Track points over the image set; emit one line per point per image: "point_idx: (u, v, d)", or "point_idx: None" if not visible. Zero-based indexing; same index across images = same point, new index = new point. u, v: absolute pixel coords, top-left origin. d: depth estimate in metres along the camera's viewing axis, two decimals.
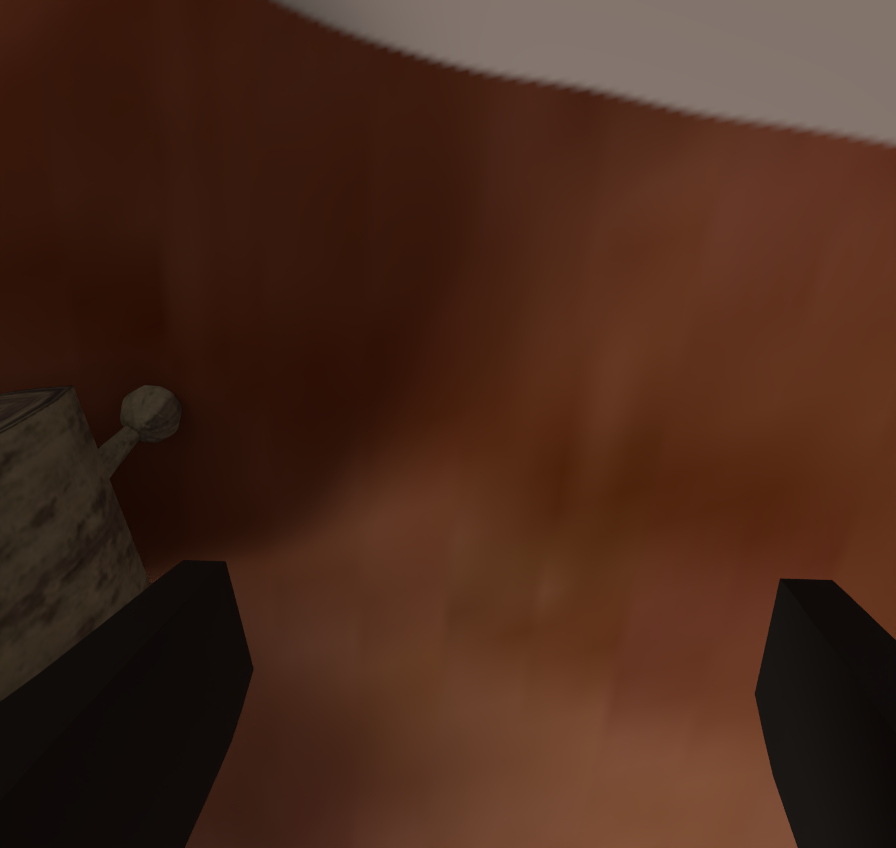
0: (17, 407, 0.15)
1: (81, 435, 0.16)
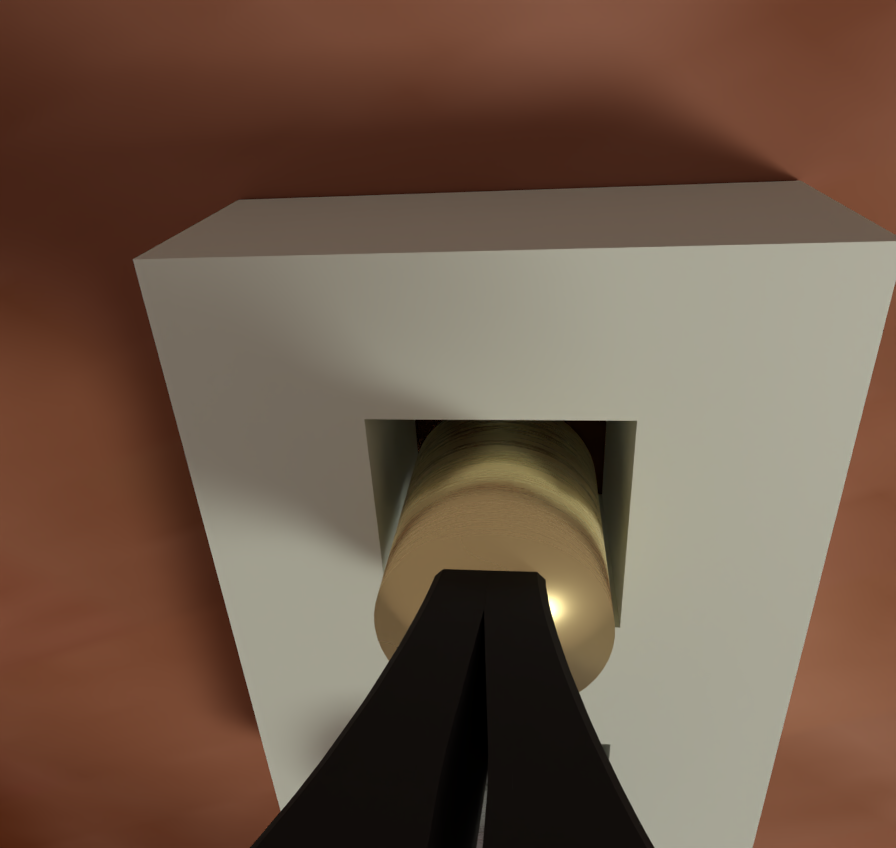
0: None
1: None
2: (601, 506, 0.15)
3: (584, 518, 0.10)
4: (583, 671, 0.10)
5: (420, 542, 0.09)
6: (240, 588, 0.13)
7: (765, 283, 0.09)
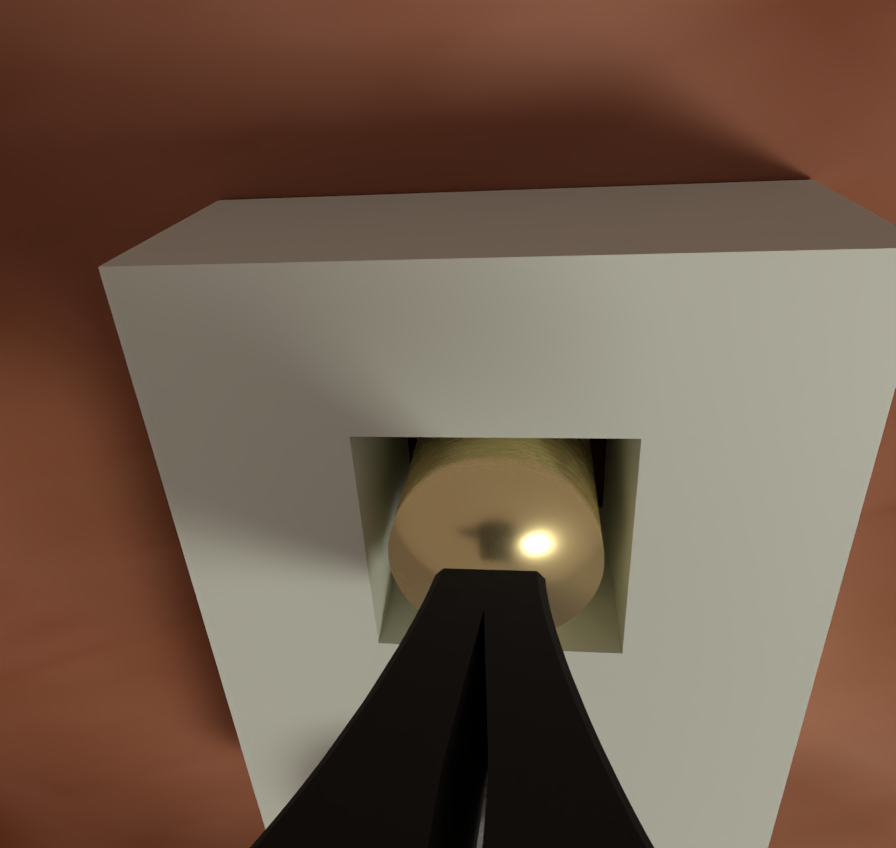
0: None
1: None
2: (602, 520, 0.15)
3: (576, 461, 0.11)
4: (576, 597, 0.11)
5: (430, 480, 0.10)
6: (222, 611, 0.12)
7: (781, 293, 0.08)
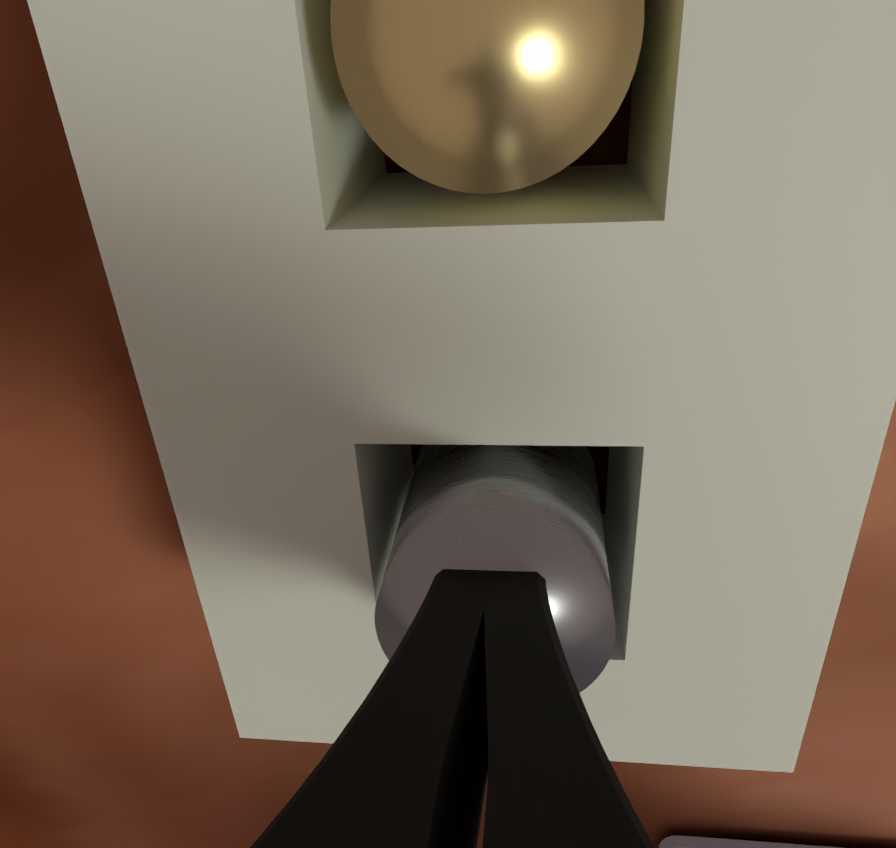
0: None
1: None
2: (627, 168, 0.11)
3: None
4: (602, 98, 0.07)
5: None
6: (110, 189, 0.09)
7: None
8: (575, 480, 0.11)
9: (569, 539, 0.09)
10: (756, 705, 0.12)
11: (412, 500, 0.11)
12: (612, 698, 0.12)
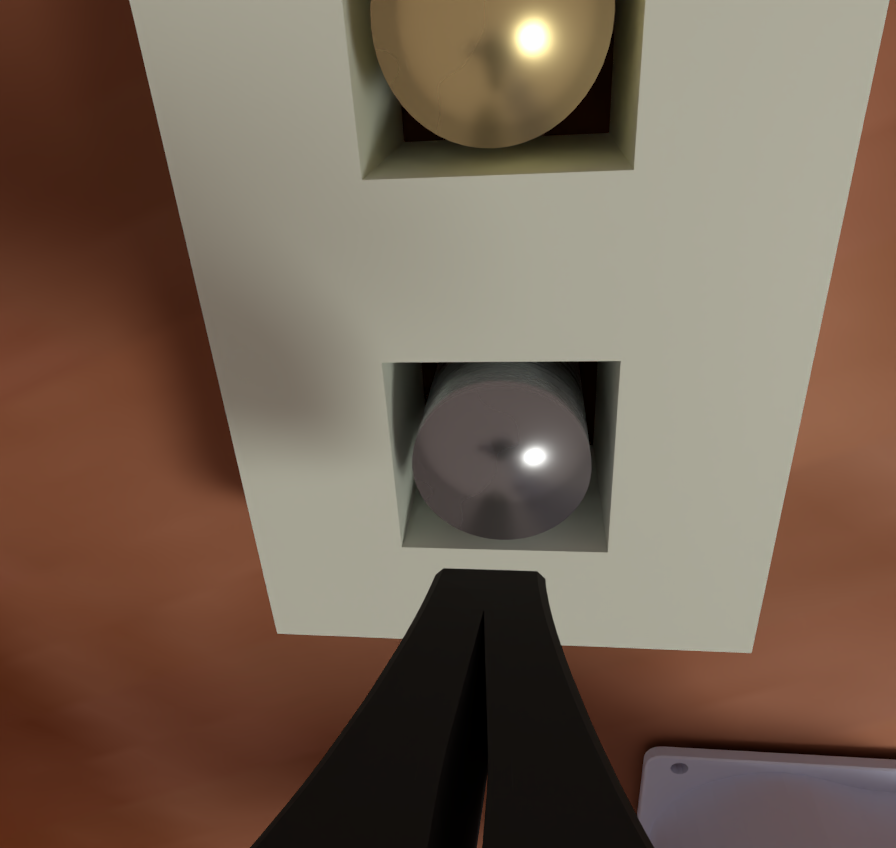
0: None
1: None
2: (608, 135, 0.13)
3: None
4: (582, 70, 0.10)
5: None
6: (187, 147, 0.11)
7: None
8: (561, 364, 0.14)
9: (556, 395, 0.12)
10: (718, 591, 0.14)
11: (438, 380, 0.14)
12: (597, 588, 0.14)
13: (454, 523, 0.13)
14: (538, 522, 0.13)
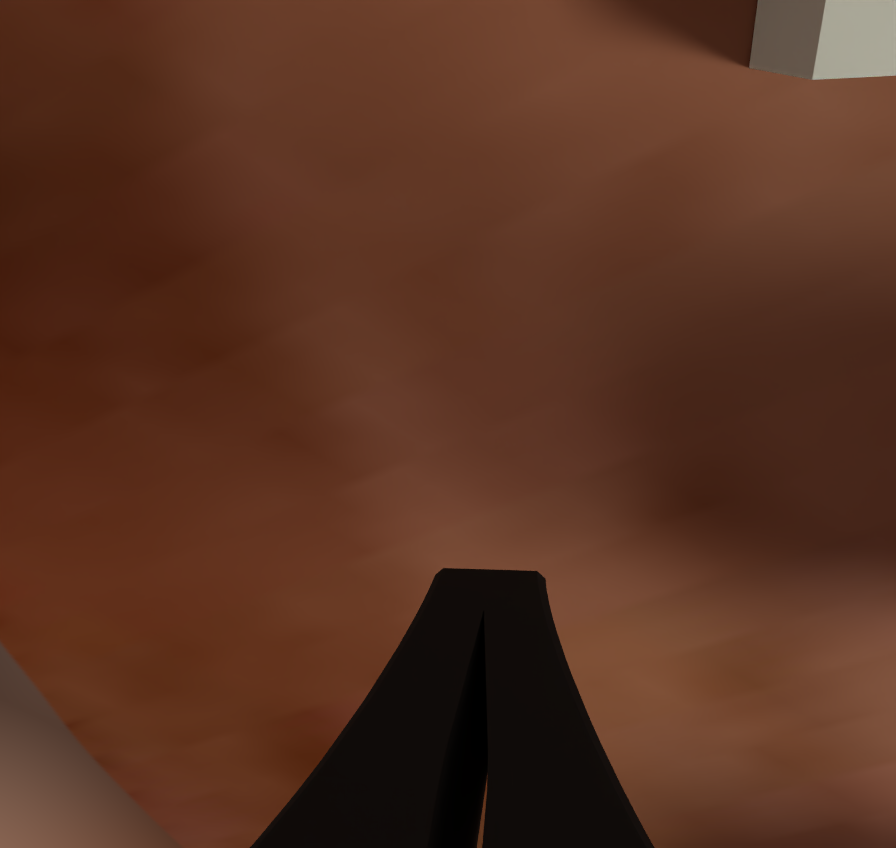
0: None
1: None
2: None
3: None
4: None
5: None
6: None
7: None
8: None
9: None
10: None
11: None
12: None
13: None
14: None
